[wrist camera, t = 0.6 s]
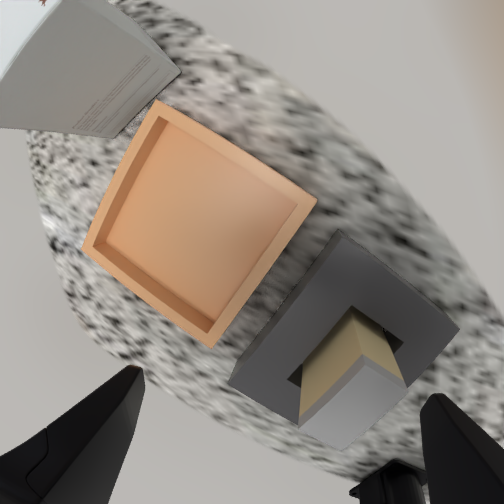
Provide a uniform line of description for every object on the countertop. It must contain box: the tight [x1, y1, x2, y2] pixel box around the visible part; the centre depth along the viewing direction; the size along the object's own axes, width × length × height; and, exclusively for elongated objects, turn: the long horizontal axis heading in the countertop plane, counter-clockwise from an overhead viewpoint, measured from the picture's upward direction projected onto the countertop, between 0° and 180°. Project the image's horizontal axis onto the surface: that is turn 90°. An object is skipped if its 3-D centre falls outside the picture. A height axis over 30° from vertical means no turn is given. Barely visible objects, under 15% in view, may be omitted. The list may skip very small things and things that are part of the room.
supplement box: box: [0, 0, 181, 139], centre depth 14 cm, size 7×7×13 cm
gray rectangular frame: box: [228, 230, 460, 425], centre depth 20 cm, size 10×12×3 cm
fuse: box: [298, 305, 408, 451], centre depth 18 cm, size 3×5×8 cm, turn 147°
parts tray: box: [81, 99, 318, 349], centre depth 20 cm, size 12×12×2 cm
